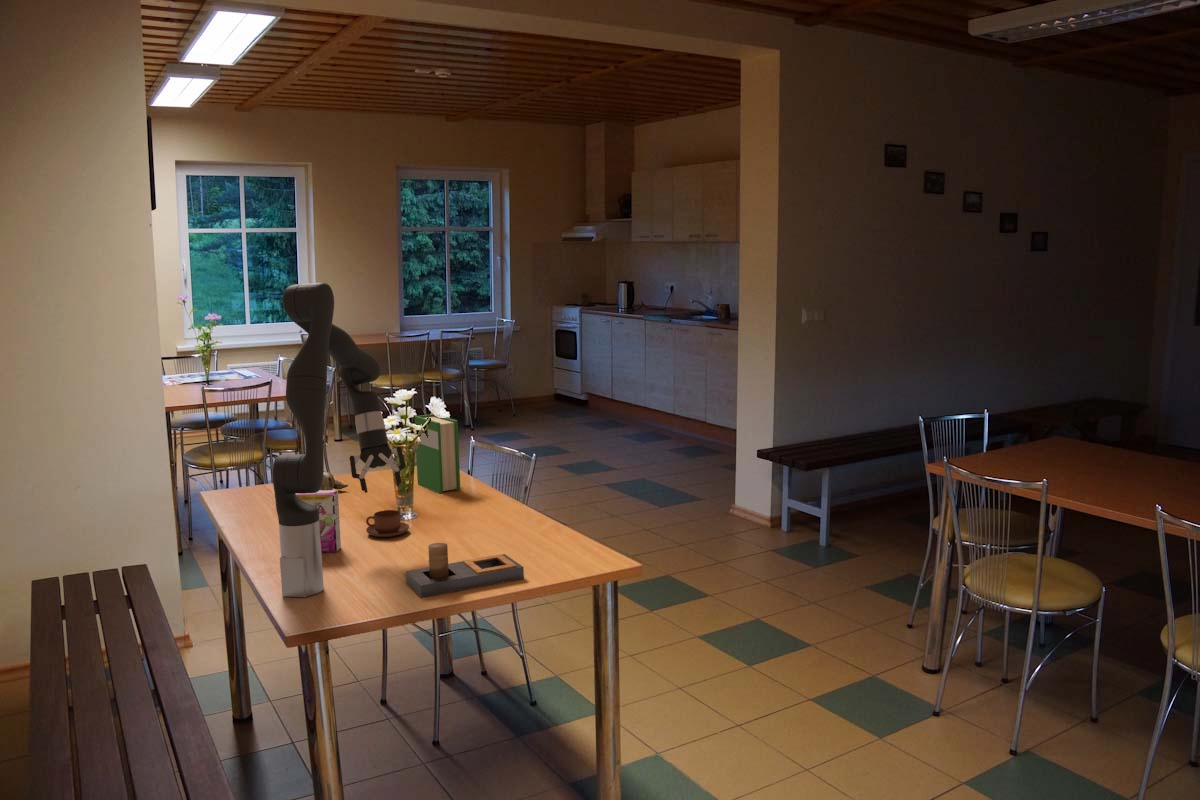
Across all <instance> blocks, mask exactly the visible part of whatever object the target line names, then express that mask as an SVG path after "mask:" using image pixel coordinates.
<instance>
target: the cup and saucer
mask: <svg viewBox="0 0 1200 800" xmlns="http://www.w3.org/2000/svg"><path fill="white" fill-rule="evenodd" d="M370 519H371V520H374V523H372V524H370V522H369V520H370ZM365 520H366V521H365V523H366V525H367V526H368V527H367V528H366V529H365V531H366V533H367V534H369V535H370V536H373V537H375V538H376V537H377V538H392V537H398V536H400V535H403V534H405V533H406V532H407V531H408V530H409V529H410V525H409V524H407V523H405V522H402V521H401V512H400V511H399V510H396V509H395V510H394V509H393V510H392V509H386V510H379V511H376V512H374V513H373V515H370V516H368V517H367V518H366V519H365Z"/></svg>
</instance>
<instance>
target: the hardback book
mask: <svg viewBox="0 0 1200 800" xmlns="http://www.w3.org/2000/svg"><path fill="white" fill-rule="evenodd" d="M433 414H434V413H432V414H431V413H430V414H423V415H415V416H414V425H415V424H416V425H421V424H424V423H425V422H426V421H427V418H428V417H429V418H431V421H430V423H429V426H428V435H429V436H428V438H427V436H426V434H425V433H422V434H421V436H420V439H421V443H420V444H419V445H418V448H417V450H416V449H415V454H416V458H415V459H416V473H417V474H416V475H417V476H416V478H417V485H418V486H421V487H423V488H425V489H428V490H430V491H432V492H435V493H437V494H440V495H441V494H443V495H444V492H446V491H451V490H455V491H457V492H459V491H461V474H460V473H461V472H460V470H461V469H460V449H459V448H460V447H459V443H460V442H459V425H458V424H459V422H458V420H457V419H454V418H450V417H447V418H438V417H435V416H433ZM428 421H429V420H428Z"/></svg>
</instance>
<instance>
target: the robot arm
mask: <svg viewBox="0 0 1200 800" xmlns="http://www.w3.org/2000/svg"><path fill="white" fill-rule="evenodd" d="M282 305H283V309H284V312H285V314H286V315H287V316H288V318H289V319H290V321H292V322H293V323H295V325H297V326H298V327H300V329H302V331H304V332H306V333H307V334H308V335H307V338H306V340H305V343H304V344H303V345H302V347H301V348H300V350H299V351H298V353H297V354H296V355H295V357H294V359H293V360H292V362H291V364H290V365H289V367H288V369H287V374H286V385H285V400H286V403H287V405H288V407H289V410H290V412H291V414H292V416H293V417H294V418H295V419H296V421H297V423H298V425H299V426H300V428H301V431H302V433H303V436H304V441H305V454H304V453H300V454H299V453H296V454H295V453H289V454H279V455H277V457H276V458H275V459H274V461H273V464H272V472H271V473H272V485H273V491H274V501H275V510H276V513H277V519H278V520H277V521H278V531H279V533H278V535H279V547H280V558H279V568H280V580H281V581H280V582H281V583H280V584H281V597H291V598H292V597H293V598H308V597H310V596H313V595H316V594H319V593H320V592H323V590H324V588H325V587H324V571H323V557H322V555H323V554H322V553H321V539H320V523H319V510H318V508H317V507H316V506H314V505H311V504H309V503H306V502H304V501H302V500H301V499H299V498H298V497H297V496H296V494H295V493H317V492H318V491H319V490H320V488H321V486H322V482H323V473H324V472H325V470H324V469H325V467H324V465H325V464H324V462H325V461H324V460H325V459H324V457H325V455H324V422H325V421H324V419H325V407H326V399H327V398H326V397H327V385H328V361H329V359H328V358H329V357H328V356H329V355H330V357H332V359H333V360H334V362H335V363H336V364H337V365H338V366H340V367H339V375H340V378H341V381H342V383H343V384H344V386H345V388H346V390H347V393H348V395H349V397H350V399H351V403H352V407H353V413H354V419H355V420H354V422H355V423H354V424H355V428H356V434H357V440H358V445H359V449H360V450H359V451H360V454H359V455H350V456H349V463H350V473H351V477H352V478H353V479H358V480H359V483H360V489H361V491H362V492H364V493H365V494H366V493H368V492H369V491H368V486H367V482H366V478H365V476H366V474H367V473H368V471H369V469H376V468H377V467H385V466H386V465H387V466H388V467H389V468H391V469H392V470H394V478H395V483H396V487H401V484H402V477H401V471H403V470H404V469H405V468H406V467H407V466H406V465H407V464H406V462H405V458H404V457H405V456H404V454H403V450H402V447H401V446H397V447H395V448H391V447H390V445H389V441H388V435H387V430H386V429H387V428H386V424H385V421H384V417H383V414H382V410H381V405H380V404H381V403H380V399H379V395H378V393H377V392H376V391H373V390H372V391H371V390H369V391H368V390H365V391H363V390H361V389H360V388H359V386H360V385H363V384H369V383H372V382H375V381H377V380H378V379H379V377H380V375H381V367H380V364H379V362H378V361H377V359H376V358H375V356H373V355H372V354H370V353H369V352H368V351H366V350H364V349H363V348H361V347H360V346H358V344H357V343H356V342H355V340H354V339H353V338H352V337H351V335H350V334H349V333H347V331H345V330H344V329H342V328H341V327H339V326H338V325H336V324H333V320H334V319H333V318H334V312H335V296H334V292H333V289H332V287H331V286H330V285H329V284H328V283H325V282H310V283H298V284H297V283H296V284H291V285H289V286H288V287H286V288H285V290H284V292H283V295H282ZM392 453H393V454H394V455H395V456H397V457H398V459H399V464H400V465H398V466H397V465H396V464H395V463H394V462H393V461H391V459H390V457H391V456H392ZM359 461H362V463H364V466H363V468H362V470H361V472H360V473H358V472H357V467H356V466H357V465H356V464H358V463H359Z"/></svg>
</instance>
